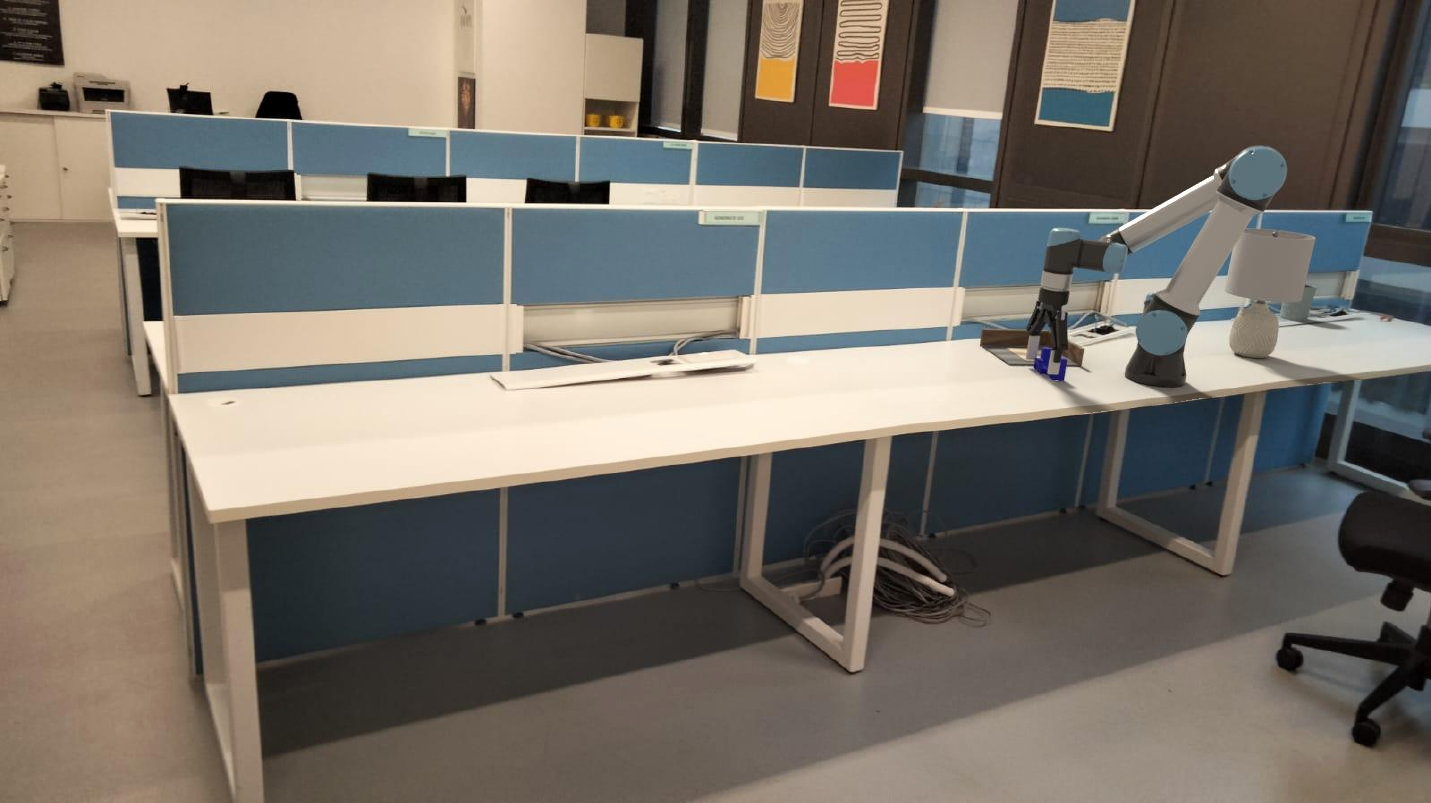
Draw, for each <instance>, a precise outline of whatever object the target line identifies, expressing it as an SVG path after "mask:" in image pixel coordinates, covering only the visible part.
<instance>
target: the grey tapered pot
mask: <svg viewBox="0 0 1431 803" xmlns="http://www.w3.org/2000/svg"><path fill="white" fill-rule="evenodd" d="M1317 288H1318V287H1317V285H1313V284H1309V283H1305V287H1304V291H1303V295H1302V300H1301V301H1299V302H1289V303H1288V302H1281V308H1280V314H1279V317H1280V318H1281V319H1283V320H1288V321H1295V322H1307V320H1308V319H1309V315H1310V310H1311V308H1312V305H1313V301H1314V297H1315V294H1316V292H1317Z"/></svg>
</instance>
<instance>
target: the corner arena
mask: <svg viewBox="0 0 1431 803" xmlns="http://www.w3.org/2000/svg"><path fill="white" fill-rule="evenodd" d="M1040 333H1041V334H1040V335H1037V336H1040V340H1039V346H1038V352H1037V358H1040V357H1041V350H1042V347H1047V348H1053V342H1052V336H1051V330H1050V329H1042V330H1041V332H1040ZM1029 336H1030V335H1029V331H1026V329H1017V328H1016V329H1015V328H1014V329H1011V328H1010V329H1005V328H981V333H980V341H979V342H980V343H979V346H980V347H981V348H983V349H985V350H986V351H987V352H988V353H990V354H992V355H993V356H995V357H996V358H997V359H999V360H1001V361H1002V362H1003V363H1005V364H1006V365H1007V366H1024V367H1025V366H1028V367H1029V366H1031V367H1032V366H1033V367H1034V360H1027V359H1026V354H1027V348H1028V342H1029ZM1084 353H1085V348H1084V347H1082V346H1081V345H1079V344H1077V343H1075V342H1073V341H1071V340H1069V339H1068V350H1064V351H1062V356H1061V358H1066V359H1068V360H1067V367H1083V360H1084Z"/></svg>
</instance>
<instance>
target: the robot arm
mask: <svg viewBox="0 0 1431 803" xmlns="http://www.w3.org/2000/svg"><path fill="white" fill-rule="evenodd" d="M1286 161H1287V160H1286V159H1285V158H1284V156H1283V155H1282V154H1281V153H1280V152H1279V150H1278V149H1276V148H1274V147H1272V146H1270V145H1265V144H1255V145H1250V146H1248V147H1246V148H1245V149H1242V150H1241V151H1240V152H1239V153H1238V154H1236V156H1234V157H1233V158H1232V159H1230V160H1228V161H1227V162H1226V163H1224V164H1223V165H1221V166H1219V167H1217V168H1216V169H1214V172H1213V174H1212V175H1211V176H1209V177H1208V178H1206V179H1204V180H1202V181H1200V182H1199V183H1197V184H1195V185H1193V186H1192V187H1190V188H1188V189H1185V190H1184V191H1183V192H1181V193H1179V194H1178V195H1175V196H1173V197H1172V198H1170V199H1168V200H1166V201H1165V202H1164V201H1163V203H1161V204H1159V205H1157V206H1155V207H1153V208H1152V209H1149V211H1146V212H1145V213H1143V214H1141V215H1139V216H1137V217H1136V218H1134V219H1132V220H1130V221H1128V222H1126V223H1125V224H1123V225H1122V226H1120V227H1118V228H1117V229H1113V231H1110V232H1109V233H1108V234H1104V235H1102V236H1100V237H1099V238H1097V239H1096V240H1093V239H1086V238H1085V239H1084V238H1081V231H1080V230H1078V229H1074V228H1073V229H1072V228H1069V227H1055V228H1052V229H1051V230H1050V232H1049V235H1048V240H1047V244H1046V248H1045V256H1044V262H1043V269H1042V273H1041V279H1040V286H1041V287H1040V288H1039V292H1038V297H1037V300H1036V301H1035V306H1034V309H1033V311H1032V315H1031V316H1030V317H1029V321H1028V323H1027V326H1026V327H1025V330H1026V331H1029V335H1030V336H1029V342H1028V348H1027V354H1026V359H1027V360H1035V358H1037V352H1038V346H1039V340H1040V336H1037V335H1040V334H1041V333H1040V332H1041V330H1044V328H1045V326H1046V325H1047V326H1048V327H1049V330H1051V336H1052V342H1053V348H1051V355H1050V361H1049V366H1048V372H1047V373H1048V374H1058V373H1059V368H1060V362H1061V356H1062V351H1064V350H1068V340H1069V337H1068V335H1069V334H1068V318H1069V317H1068V316H1069V314H1068V312H1067V311H1063V310H1062V308H1063V307H1064V306H1066V305H1068V303H1069V299H1070V294H1071V293H1070V290H1069V289H1071V286H1072V280H1074V276H1073V274H1074V270H1075V269H1079V270H1080V269H1081V270H1082V269H1083V270H1086V271H1093V272H1100V273H1106V274H1121V273H1123V272H1124V270H1125V266H1126V264H1127V258H1128V256H1130V255H1131V254H1133V253H1135V252H1137V251H1138V250H1140V249H1142V248H1145V247H1146V246H1149V245H1150V244H1151V243H1153V242H1155V241H1157V240H1160V239H1161V238H1163V237H1165V236H1167V235H1169V234H1171V233H1172V232H1175V231H1176V230H1178V229H1180V228H1182V227H1184V226H1185V225H1188V224H1190V223H1191V222H1193V221H1195V220H1197V219H1198V218H1201V217H1202V216H1204V215H1206V214H1209V213H1210V214H1209V216H1208V217H1207V219H1206V220H1205V222H1204V224H1203V225H1202V227H1201V229H1200V231H1199V232H1198V234H1197V236H1196V237H1195V238H1194V240H1193V242H1192V244H1191V246H1190V247H1189V249H1188V251H1187V253H1186V255H1184V257H1183V259H1182V260H1181V263H1180V264H1179V266H1178V267H1177V269H1176V271H1175V273H1174V274H1173V276H1172V277H1171V278H1170V281H1169V283H1168V284H1167V286H1166V288H1164V289H1162V290H1159V291H1156V292H1149V293H1148V294H1146V295H1145V300H1144V301H1143V310H1142V314H1141V316H1140V318H1139V320H1138V321H1137V323H1136V326H1135V337H1136V340H1137V344H1136V349H1134V352H1133V354H1132V356H1131V357H1130V359H1129V361H1128V363H1127V365H1125V366H1126V367H1125V370H1124V371H1125V372H1124V376H1125V378H1126V379H1128V380H1130V381H1134V382H1137V383H1139V382H1140V384H1143V383H1144V385H1150V386H1153V387H1154V386H1155V387H1162V386H1164V388H1165V387H1167V388H1175V387H1176V388H1177V387H1183V386H1184V385H1185V384H1186V382H1187V371H1186V370H1187V369H1186V363H1185V355H1184V352H1185V348H1186V344H1187V338H1188V335H1189V333H1191V330H1192V329H1193V327H1194V325H1195V324H1196V322H1197V320H1198V319H1199V317H1200V316H1201V314H1202V313H1201V310H1200V309H1201V308H1200V306H1199V305H1200V303H1201V301H1202V300H1203V298H1204V297H1205V295H1206V294H1207V291H1208V290H1209V289H1210V287H1211V285H1212V283H1213V282H1214V280H1215V279H1216V277H1217V275H1218V274H1219V272H1220V270H1221V269H1222V268H1223V266H1224V264H1225V263H1226V261H1227V260H1228V257H1229V256H1230V255H1231V254H1232V251H1233V248H1234V246H1235V245H1236V243H1237V242H1238V240H1239V238H1240V237H1241V235H1242V233H1243V232H1244V230H1245V229H1246V228H1248V226H1249V224H1250V222H1251V220H1252V219H1253V217H1255V216H1257V215H1260V214H1263V213H1264V212H1265V210H1266V208H1267V207H1268V206H1269V204H1270V202H1271V201H1272V199H1273V198H1274V196H1275V194H1276V193H1277V192H1279V190H1280V189H1281V188H1282V186H1283V185H1284V184H1285V181H1286V179H1287V174H1288V166H1287V164H1288V163H1287V162H1286Z"/></svg>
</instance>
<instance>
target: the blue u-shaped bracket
mask: <svg viewBox="0 0 1431 803" xmlns="http://www.w3.org/2000/svg"><path fill="white" fill-rule="evenodd" d="M1050 355H1051V348H1047V347H1042V350H1041V357H1040V358H1035V360H1034V366H1033V367H1032V368H1033V369H1034V370H1035V371H1036V372H1038V373H1039V374H1040V375H1046V376H1047V377H1048V376H1049V377H1048V378H1049V379H1050V380H1052V381H1054V380H1059V382H1065V380H1066V379H1065V378H1066V372H1067V367H1068V366H1067V360H1068V359H1066V358H1061V362H1060V368H1059V373H1058V374H1048V373H1047V372H1048V366H1049V361H1050Z"/></svg>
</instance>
